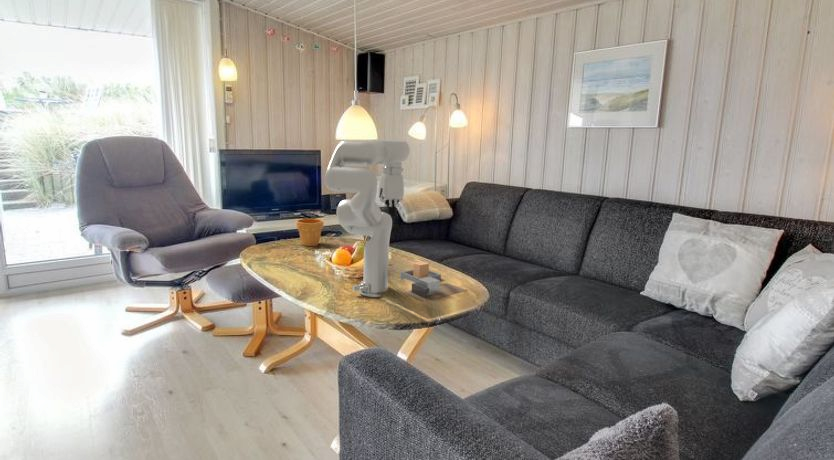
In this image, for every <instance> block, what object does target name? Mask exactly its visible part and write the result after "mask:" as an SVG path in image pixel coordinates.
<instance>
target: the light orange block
mask: <svg viewBox="0 0 834 460" xmlns="http://www.w3.org/2000/svg"><path fill="white" fill-rule="evenodd" d="M429 269H430V264H429V263H428V262H426V261H425V262H424V261H418V262H413V269H412V270H413V276H414V277H417V278H423V277H428V274H429Z"/></svg>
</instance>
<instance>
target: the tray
mask: <svg viewBox="0 0 834 460" xmlns="http://www.w3.org/2000/svg"><path fill="white" fill-rule="evenodd" d="M428 277H432V278H435V279H437V280H440V281H441V280H442V275H441V273H437V272H435V271H432V270H429V274H428ZM423 278H427V277H423ZM403 279H404V280H408V281H411V282H412V283H418V279H422V278H417V277H414V276H413V269H410V270H404V271H400V280H403Z"/></svg>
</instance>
